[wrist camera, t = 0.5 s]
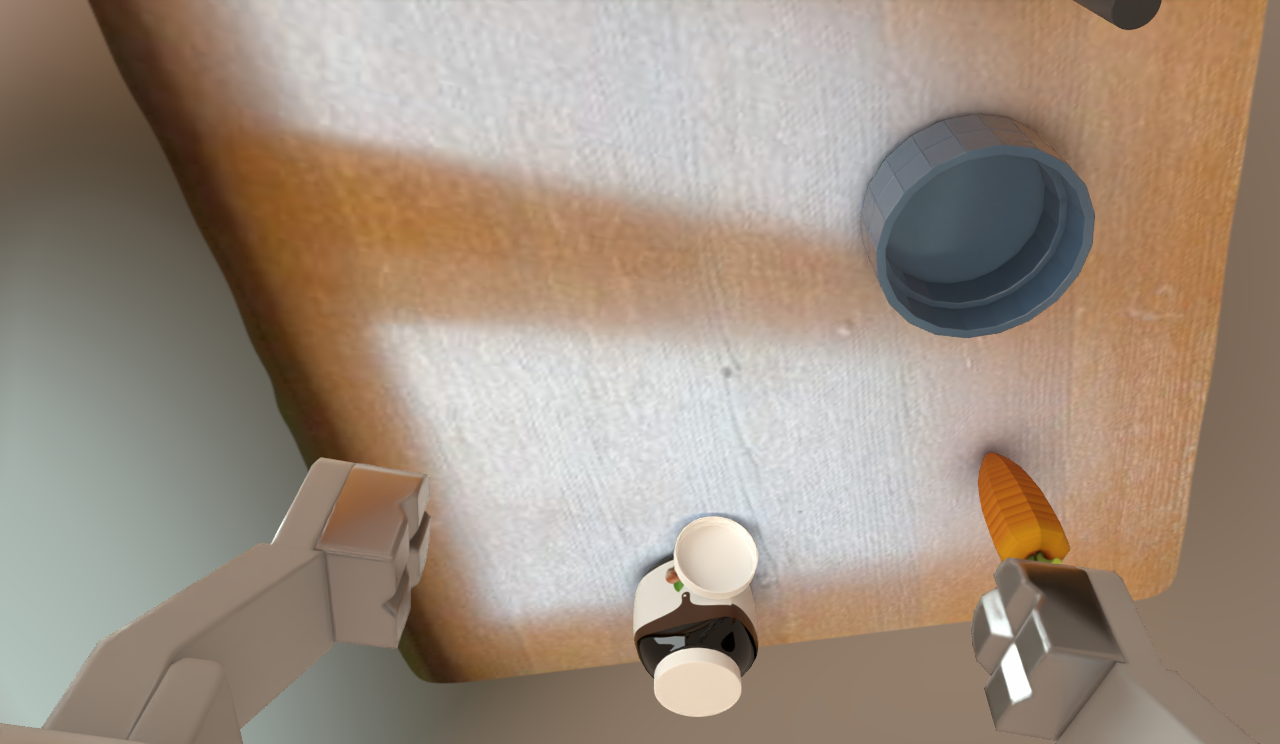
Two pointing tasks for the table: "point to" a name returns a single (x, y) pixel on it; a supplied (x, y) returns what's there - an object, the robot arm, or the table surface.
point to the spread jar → (699, 618)
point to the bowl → (975, 226)
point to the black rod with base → (1124, 11)
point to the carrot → (1019, 513)
